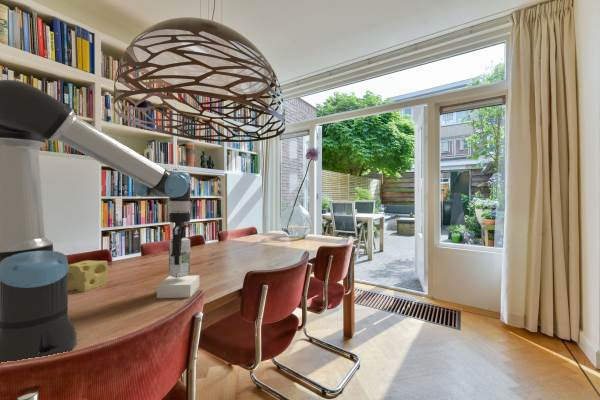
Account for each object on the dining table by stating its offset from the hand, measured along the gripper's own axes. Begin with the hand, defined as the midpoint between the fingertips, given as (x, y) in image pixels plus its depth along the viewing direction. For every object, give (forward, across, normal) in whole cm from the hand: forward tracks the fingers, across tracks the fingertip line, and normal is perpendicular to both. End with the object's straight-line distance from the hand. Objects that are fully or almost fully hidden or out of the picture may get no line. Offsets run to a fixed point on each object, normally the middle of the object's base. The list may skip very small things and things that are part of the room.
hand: (179, 270), depth 106 cm
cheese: (+9, +14, +38) cm, 41 cm away
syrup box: (+2, 0, 0) cm, 2 cm away
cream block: (+9, 0, 0) cm, 9 cm away
